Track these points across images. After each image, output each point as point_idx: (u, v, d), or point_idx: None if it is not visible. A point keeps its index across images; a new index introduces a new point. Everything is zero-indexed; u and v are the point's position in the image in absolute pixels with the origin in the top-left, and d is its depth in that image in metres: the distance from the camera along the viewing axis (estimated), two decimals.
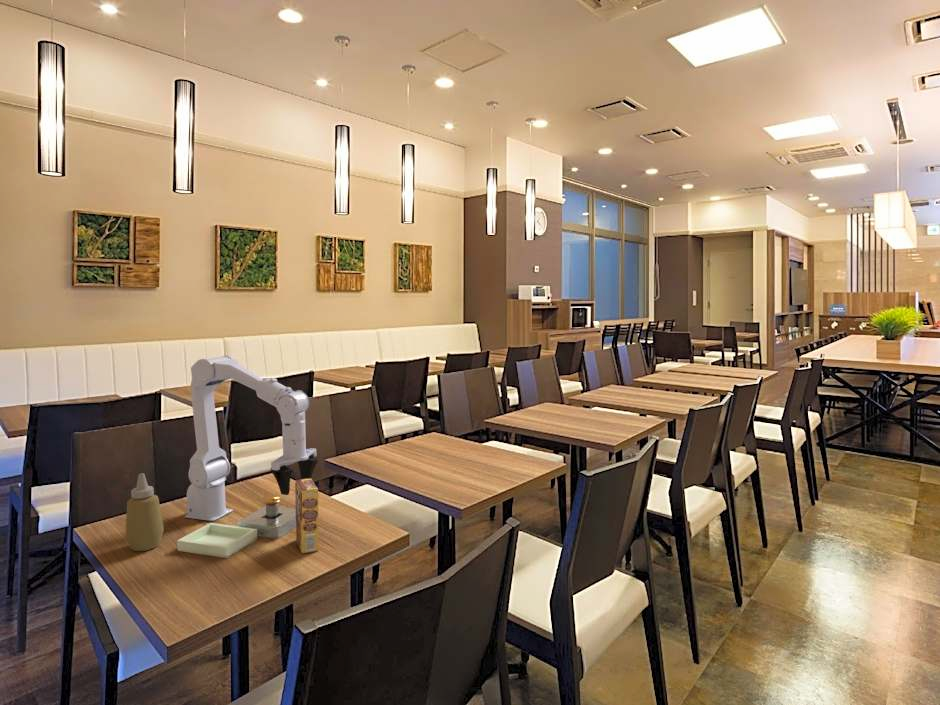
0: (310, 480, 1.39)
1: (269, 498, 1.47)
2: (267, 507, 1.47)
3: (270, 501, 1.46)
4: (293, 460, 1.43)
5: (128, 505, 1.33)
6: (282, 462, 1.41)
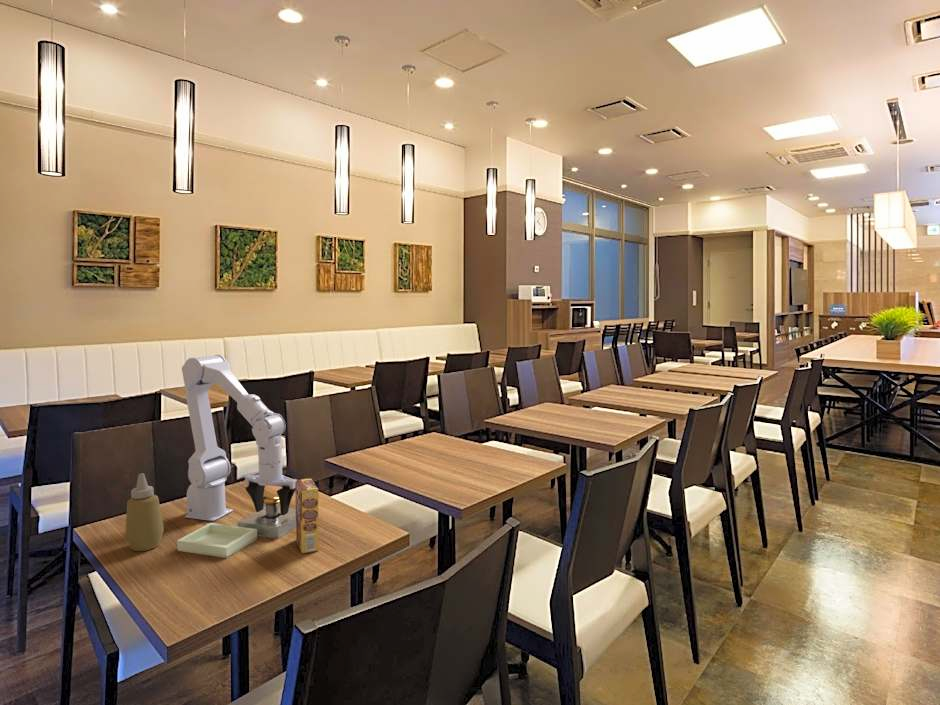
0: (310, 480, 1.39)
1: (269, 498, 1.47)
2: (267, 507, 1.47)
3: (270, 501, 1.46)
4: (256, 481, 1.46)
5: (128, 505, 1.33)
6: (249, 478, 1.48)
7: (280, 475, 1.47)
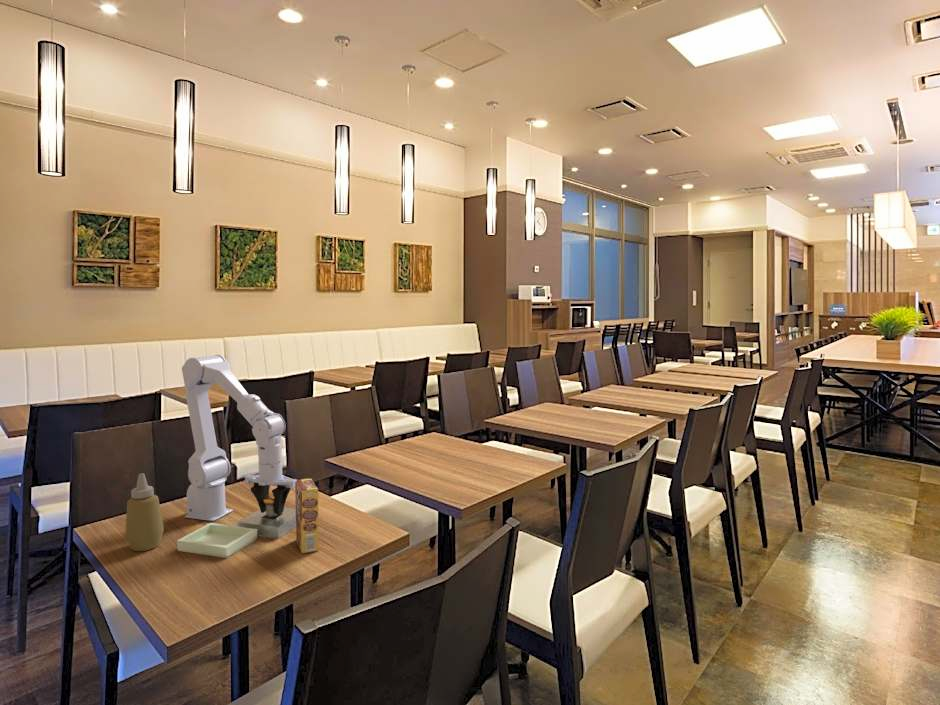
0: (310, 480, 1.39)
1: (269, 498, 1.47)
2: (267, 507, 1.47)
3: (270, 501, 1.46)
4: (256, 481, 1.46)
5: (128, 505, 1.33)
6: (249, 478, 1.48)
7: (280, 475, 1.47)
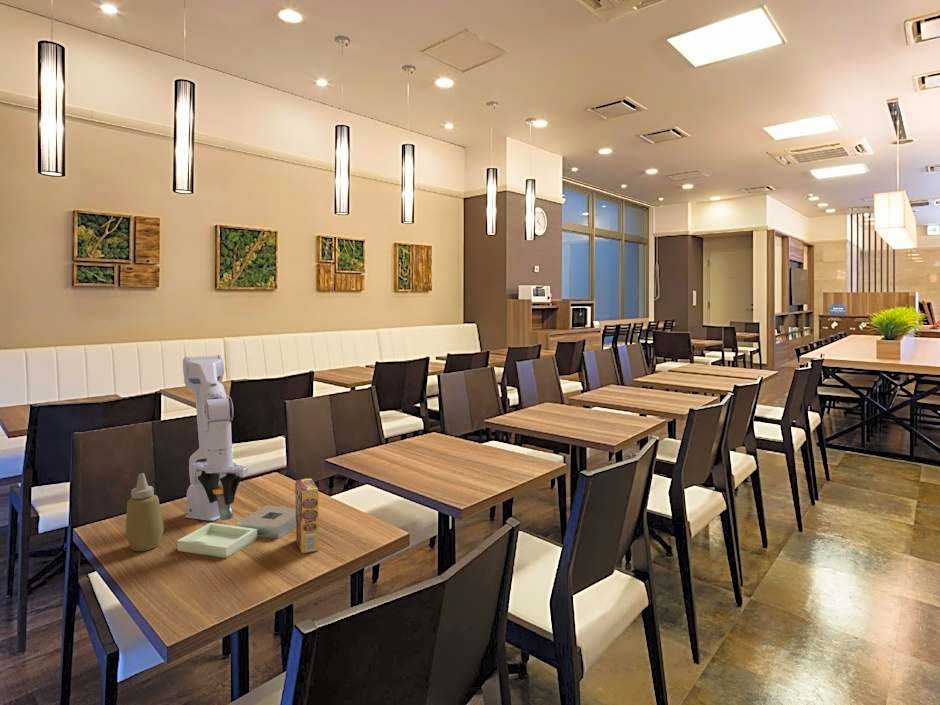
0: (310, 480, 1.39)
1: (219, 488, 1.37)
2: (217, 498, 1.37)
3: (219, 491, 1.36)
4: (203, 468, 1.36)
5: (128, 505, 1.33)
6: (197, 466, 1.37)
7: (230, 462, 1.36)
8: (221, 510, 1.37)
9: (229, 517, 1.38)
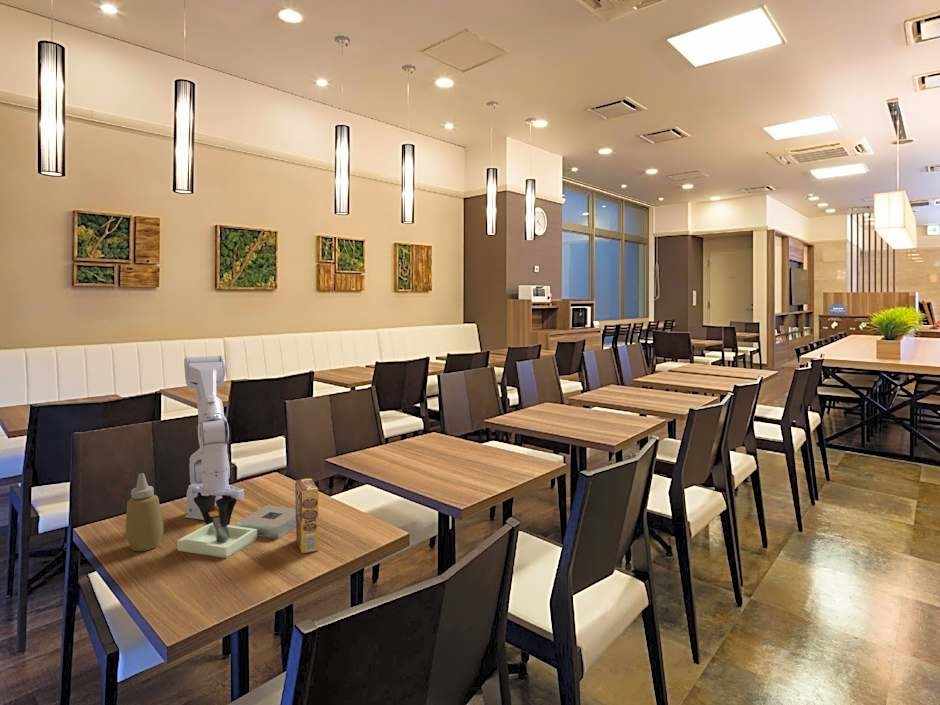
0: (310, 480, 1.39)
1: (214, 509, 1.37)
2: (213, 520, 1.37)
3: (214, 514, 1.35)
4: (199, 490, 1.35)
5: (128, 505, 1.33)
6: (193, 487, 1.37)
7: (225, 484, 1.36)
8: (217, 532, 1.37)
9: (225, 539, 1.38)
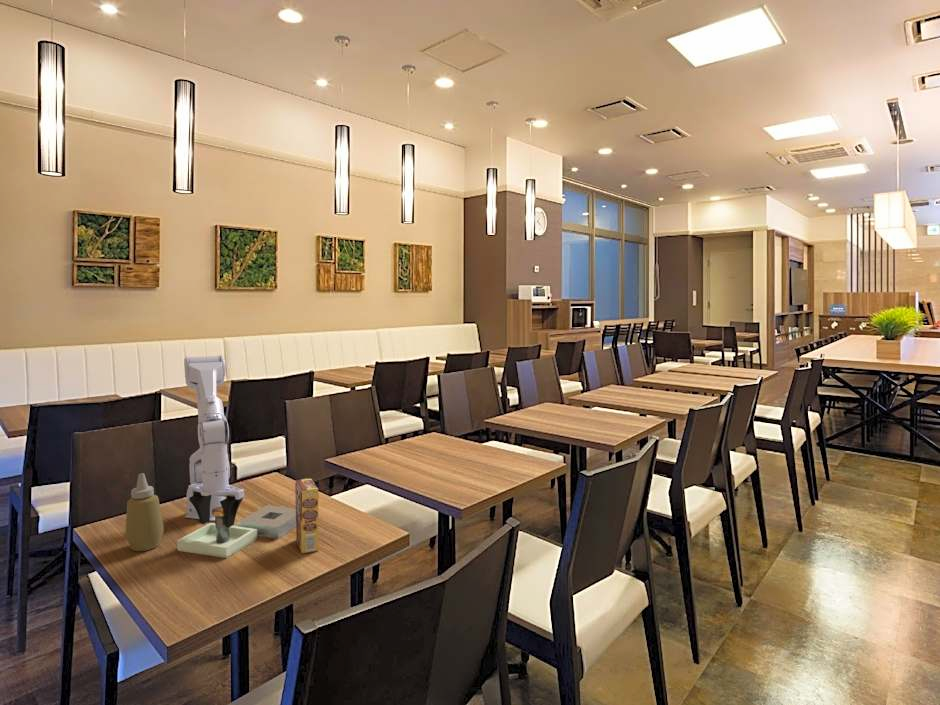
0: (310, 480, 1.39)
1: (219, 510, 1.37)
2: (216, 520, 1.37)
3: (219, 514, 1.36)
4: (199, 490, 1.35)
5: (128, 505, 1.33)
6: (193, 487, 1.37)
7: (225, 484, 1.36)
8: (218, 533, 1.37)
9: (225, 541, 1.38)
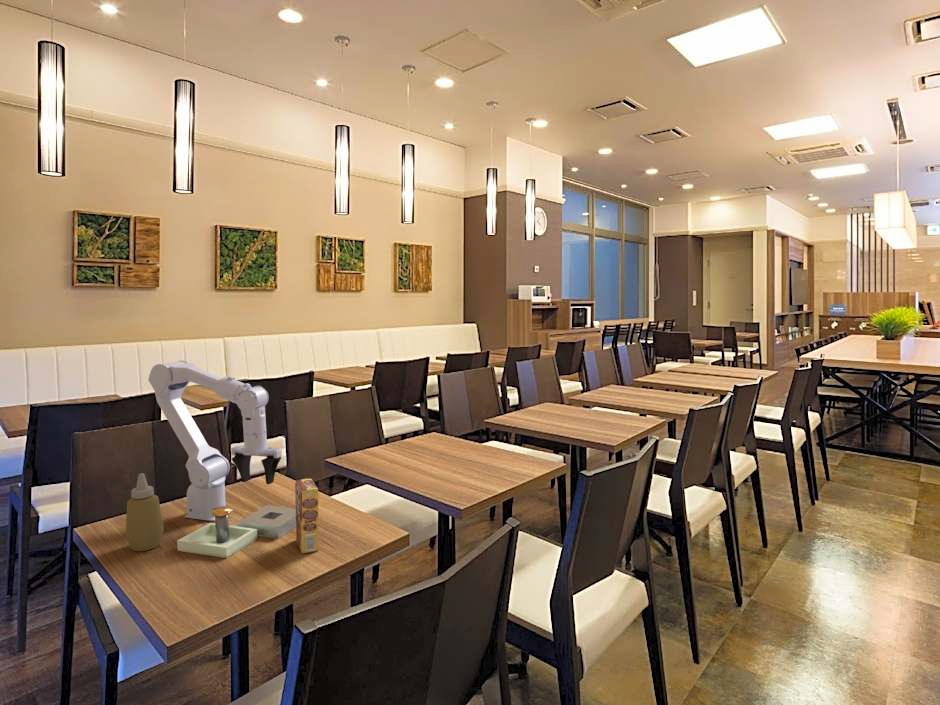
0: (310, 480, 1.39)
1: (219, 509, 1.38)
2: (216, 520, 1.37)
3: (218, 513, 1.36)
4: (241, 451, 1.50)
5: (128, 505, 1.33)
6: (235, 449, 1.52)
7: (265, 445, 1.51)
8: (218, 533, 1.37)
9: (225, 541, 1.38)
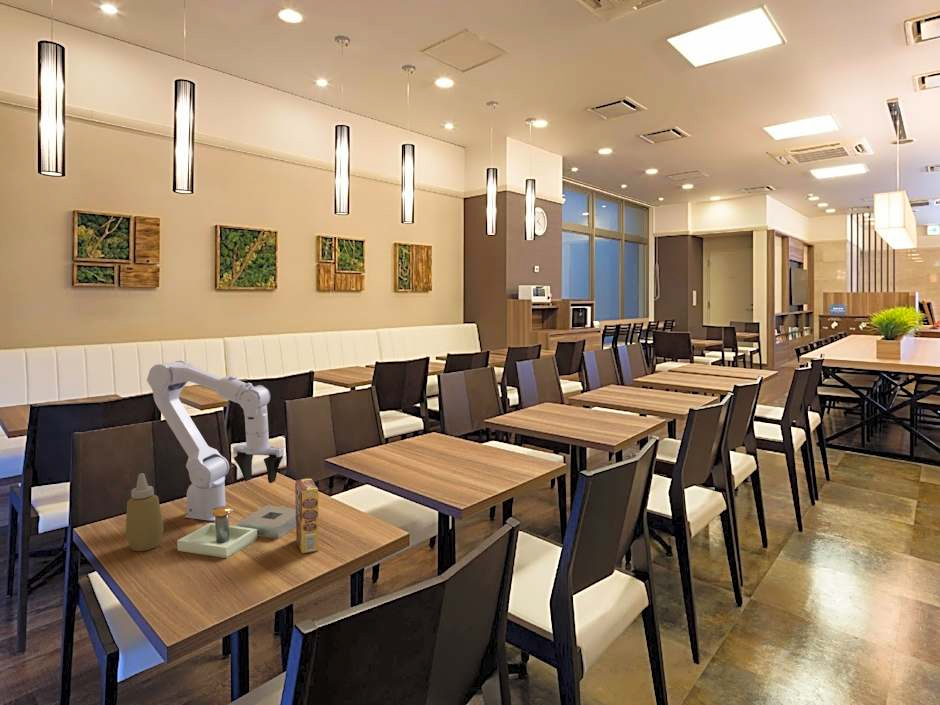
0: (310, 480, 1.39)
1: (219, 509, 1.38)
2: (216, 520, 1.37)
3: (219, 513, 1.36)
4: (243, 450, 1.51)
5: (128, 505, 1.33)
6: (237, 448, 1.53)
7: (267, 444, 1.52)
8: (218, 533, 1.37)
9: (225, 541, 1.38)
